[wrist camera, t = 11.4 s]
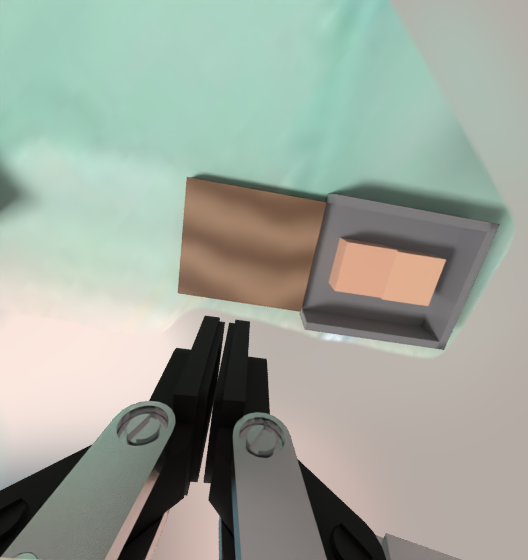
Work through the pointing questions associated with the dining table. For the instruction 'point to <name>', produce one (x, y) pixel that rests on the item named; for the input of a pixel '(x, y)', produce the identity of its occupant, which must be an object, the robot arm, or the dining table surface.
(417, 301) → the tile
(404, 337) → the tray
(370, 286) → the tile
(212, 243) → the board
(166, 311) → the dining table surface
